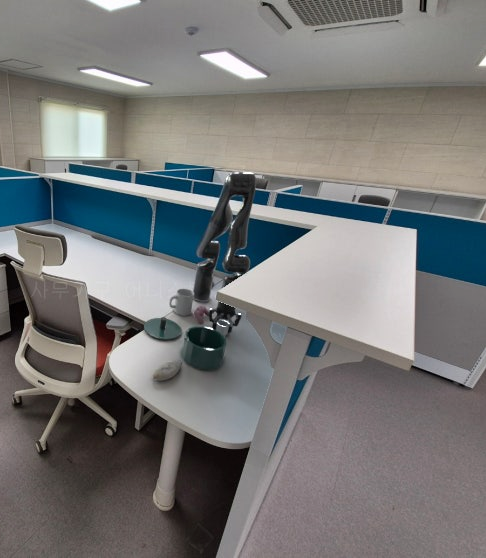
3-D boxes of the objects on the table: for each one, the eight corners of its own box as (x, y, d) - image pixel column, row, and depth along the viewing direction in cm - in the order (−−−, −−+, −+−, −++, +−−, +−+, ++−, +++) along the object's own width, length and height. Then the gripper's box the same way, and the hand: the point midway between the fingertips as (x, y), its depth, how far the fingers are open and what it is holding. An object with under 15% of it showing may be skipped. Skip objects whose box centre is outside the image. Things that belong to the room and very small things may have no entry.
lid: (147, 317, 147) (148, 306, 145) (182, 323, 143) (184, 312, 141) (140, 336, 133) (141, 324, 130) (179, 344, 129) (181, 332, 126)
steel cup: (214, 327, 141) (216, 318, 139) (227, 330, 140) (229, 320, 138) (214, 334, 136) (216, 325, 134) (227, 336, 135) (229, 327, 133)
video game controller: (203, 316, 153) (199, 303, 152) (211, 316, 149) (208, 303, 149) (194, 324, 146) (190, 311, 145) (203, 324, 142) (199, 310, 142)
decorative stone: (186, 368, 115) (187, 361, 114) (160, 387, 105) (161, 380, 104) (173, 360, 119) (174, 353, 118) (147, 378, 109) (148, 370, 108)
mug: (186, 306, 158) (189, 288, 154) (193, 315, 151) (197, 295, 146) (165, 308, 156) (167, 289, 151) (171, 317, 148) (174, 297, 144)
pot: (183, 341, 130) (186, 323, 126) (221, 349, 126) (225, 330, 122) (180, 365, 116) (183, 345, 113) (222, 374, 113) (227, 353, 109)
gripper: (245, 297, 132) (237, 329, 139) (211, 292, 136) (205, 323, 143) (246, 305, 126) (238, 338, 133) (211, 299, 129) (204, 332, 136)
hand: (221, 330), depth 138 cm, fingers closed on steel cup, 5 cm apart
